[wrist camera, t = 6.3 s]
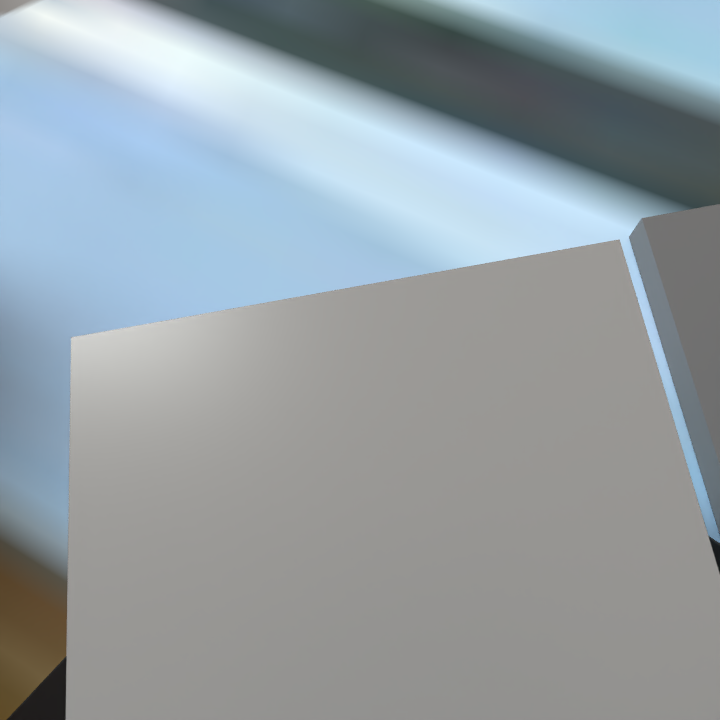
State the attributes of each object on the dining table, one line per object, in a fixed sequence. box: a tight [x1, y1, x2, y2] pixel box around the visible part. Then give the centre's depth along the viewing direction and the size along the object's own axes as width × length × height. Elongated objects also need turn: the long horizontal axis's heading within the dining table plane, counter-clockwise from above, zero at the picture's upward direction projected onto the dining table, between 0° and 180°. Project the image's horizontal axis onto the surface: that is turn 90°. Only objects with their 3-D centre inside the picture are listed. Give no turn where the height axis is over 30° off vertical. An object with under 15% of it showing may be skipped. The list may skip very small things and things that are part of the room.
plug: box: [66, 240, 720, 720], centre depth 9 cm, size 5×7×10 cm
